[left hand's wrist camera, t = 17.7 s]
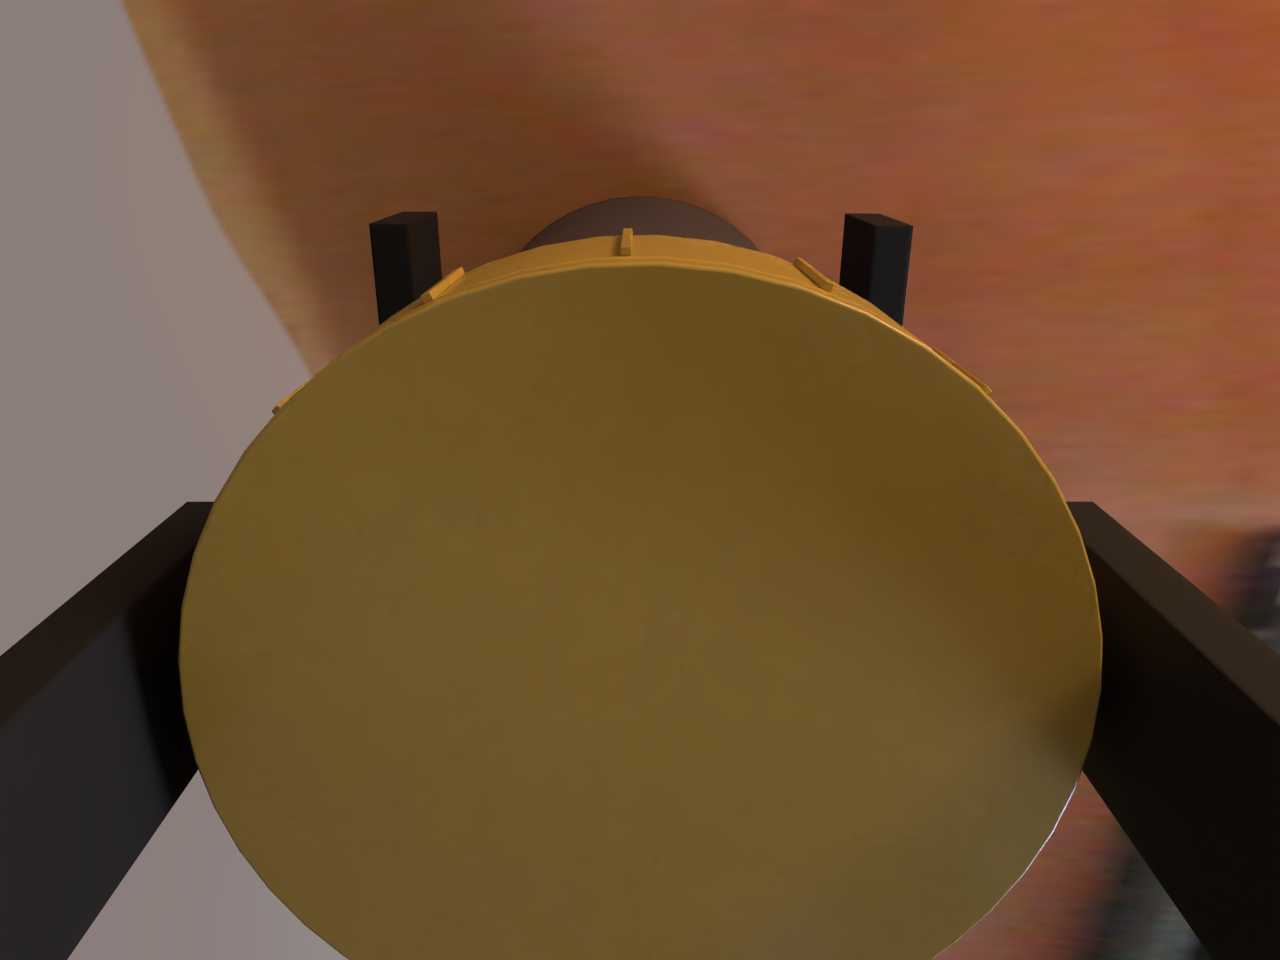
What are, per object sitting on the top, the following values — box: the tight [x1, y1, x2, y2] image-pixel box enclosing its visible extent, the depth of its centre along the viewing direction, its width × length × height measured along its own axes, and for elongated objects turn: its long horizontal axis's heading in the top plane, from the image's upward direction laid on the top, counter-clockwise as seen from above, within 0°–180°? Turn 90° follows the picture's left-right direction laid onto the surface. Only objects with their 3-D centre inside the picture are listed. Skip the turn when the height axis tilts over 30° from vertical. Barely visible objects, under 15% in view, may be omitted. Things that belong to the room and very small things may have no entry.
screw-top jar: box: [519, 197, 761, 253], centre depth 19 cm, size 9×9×17 cm
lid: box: [178, 228, 1103, 960], centre depth 11 cm, size 10×10×2 cm
